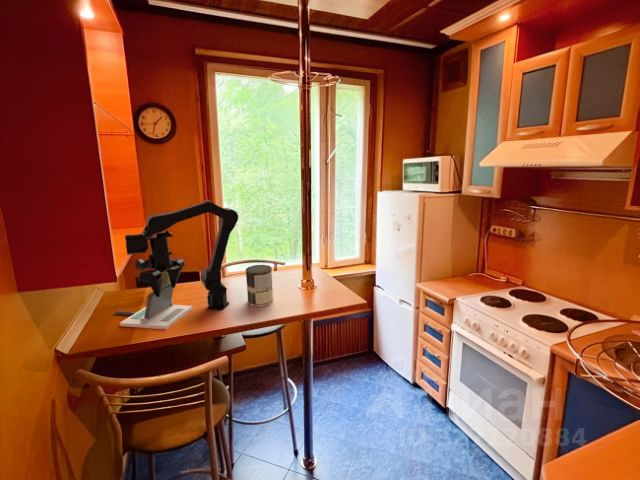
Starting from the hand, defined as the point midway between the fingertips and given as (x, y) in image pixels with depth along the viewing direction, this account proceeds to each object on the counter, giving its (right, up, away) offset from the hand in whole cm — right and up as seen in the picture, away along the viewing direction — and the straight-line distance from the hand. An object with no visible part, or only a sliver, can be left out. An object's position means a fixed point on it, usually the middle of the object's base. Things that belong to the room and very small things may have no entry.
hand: (166, 292), depth 125 cm
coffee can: (+32, -6, +15) cm, 36 cm away
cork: (-12, -5, +26) cm, 29 cm away
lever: (-4, -8, +3) cm, 9 cm away
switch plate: (-9, -10, +4) cm, 14 cm away
